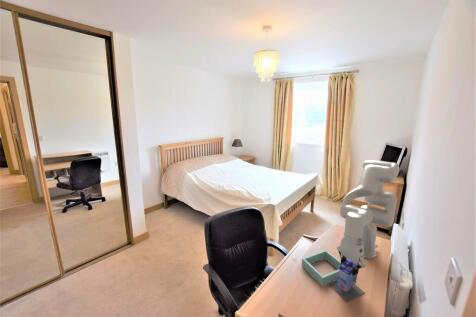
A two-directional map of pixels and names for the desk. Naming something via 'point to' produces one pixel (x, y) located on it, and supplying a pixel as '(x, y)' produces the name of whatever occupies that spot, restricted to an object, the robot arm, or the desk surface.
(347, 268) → the ink cartridge box
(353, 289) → the mat
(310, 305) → the desk surface
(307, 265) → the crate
